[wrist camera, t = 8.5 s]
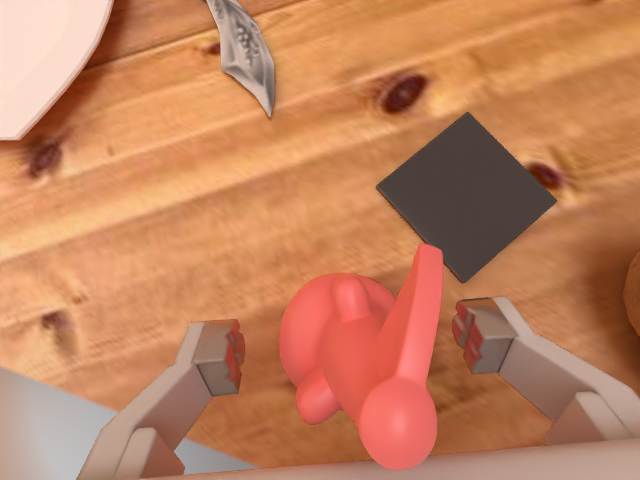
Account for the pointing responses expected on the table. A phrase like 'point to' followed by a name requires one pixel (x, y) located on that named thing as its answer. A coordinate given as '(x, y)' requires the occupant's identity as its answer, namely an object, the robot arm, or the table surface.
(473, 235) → the coaster
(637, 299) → the potato
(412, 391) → the figurine
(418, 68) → the table surface
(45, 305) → the table surface
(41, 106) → the plate
